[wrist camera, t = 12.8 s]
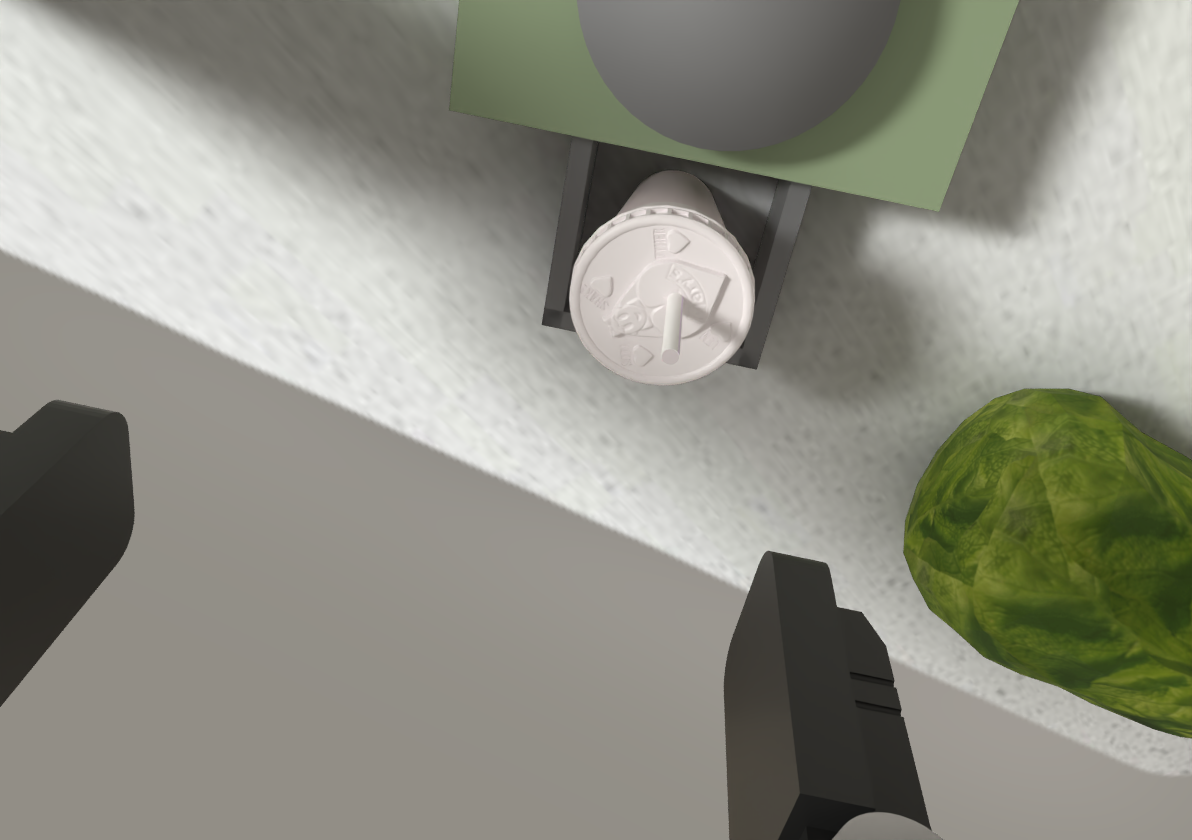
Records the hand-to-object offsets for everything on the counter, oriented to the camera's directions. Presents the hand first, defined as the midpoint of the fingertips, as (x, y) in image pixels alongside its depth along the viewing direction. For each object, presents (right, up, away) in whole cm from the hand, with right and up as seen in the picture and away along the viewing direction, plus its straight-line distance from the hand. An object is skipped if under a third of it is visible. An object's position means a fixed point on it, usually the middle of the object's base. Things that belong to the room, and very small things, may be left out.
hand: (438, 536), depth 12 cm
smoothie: (+5, +10, +29) cm, 31 cm away
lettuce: (+26, -3, +34) cm, 43 cm away
